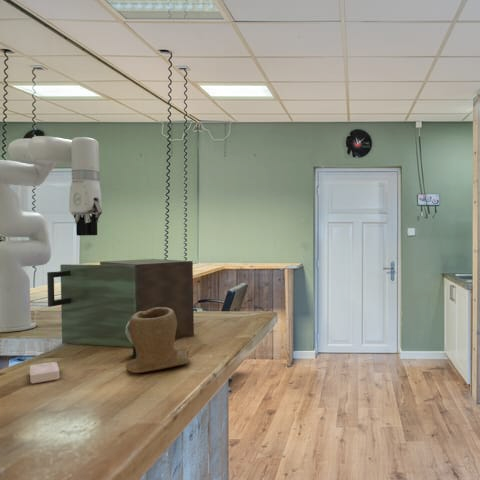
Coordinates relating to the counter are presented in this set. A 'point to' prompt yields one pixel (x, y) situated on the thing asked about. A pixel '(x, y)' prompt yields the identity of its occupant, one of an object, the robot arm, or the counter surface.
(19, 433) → the counter surface
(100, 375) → the counter surface
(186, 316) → the cupboard
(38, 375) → the soap bar
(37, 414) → the counter surface
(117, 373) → the counter surface
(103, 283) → the cupboard door
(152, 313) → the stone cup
